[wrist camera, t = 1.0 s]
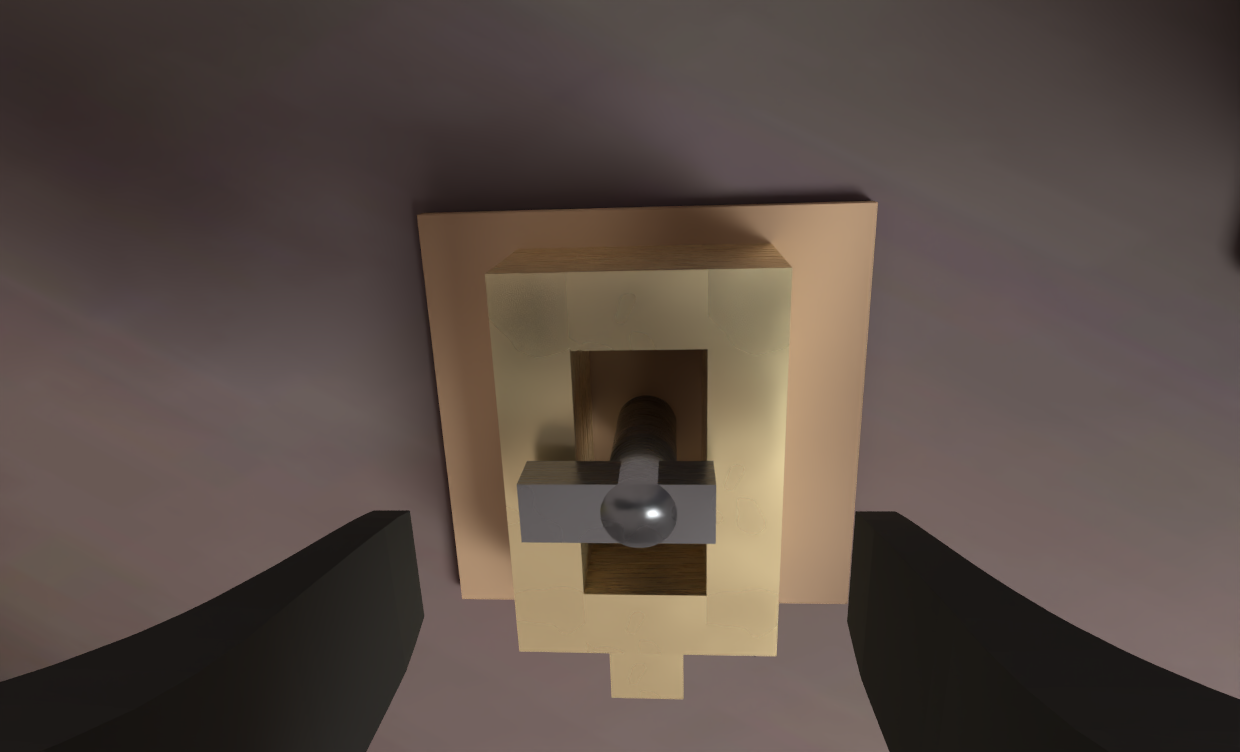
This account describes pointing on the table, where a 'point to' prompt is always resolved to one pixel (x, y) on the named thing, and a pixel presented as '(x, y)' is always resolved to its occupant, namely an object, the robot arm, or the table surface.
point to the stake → (623, 489)
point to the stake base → (664, 367)
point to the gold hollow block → (563, 431)
